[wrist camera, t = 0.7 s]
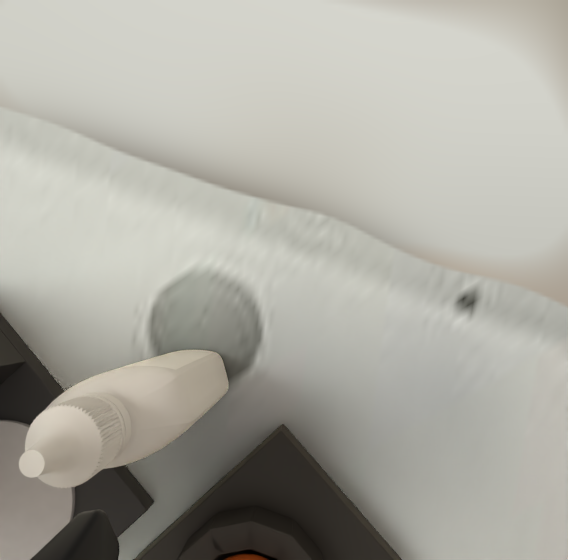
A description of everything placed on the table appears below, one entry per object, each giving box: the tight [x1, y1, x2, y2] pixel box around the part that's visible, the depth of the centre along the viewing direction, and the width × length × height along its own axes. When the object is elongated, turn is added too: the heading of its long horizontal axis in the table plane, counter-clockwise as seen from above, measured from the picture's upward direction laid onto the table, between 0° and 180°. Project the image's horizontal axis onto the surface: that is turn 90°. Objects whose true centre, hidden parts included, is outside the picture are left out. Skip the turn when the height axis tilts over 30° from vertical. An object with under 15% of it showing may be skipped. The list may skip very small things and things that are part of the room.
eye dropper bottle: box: [19, 350, 229, 489], centre depth 17 cm, size 4×6×12 cm
